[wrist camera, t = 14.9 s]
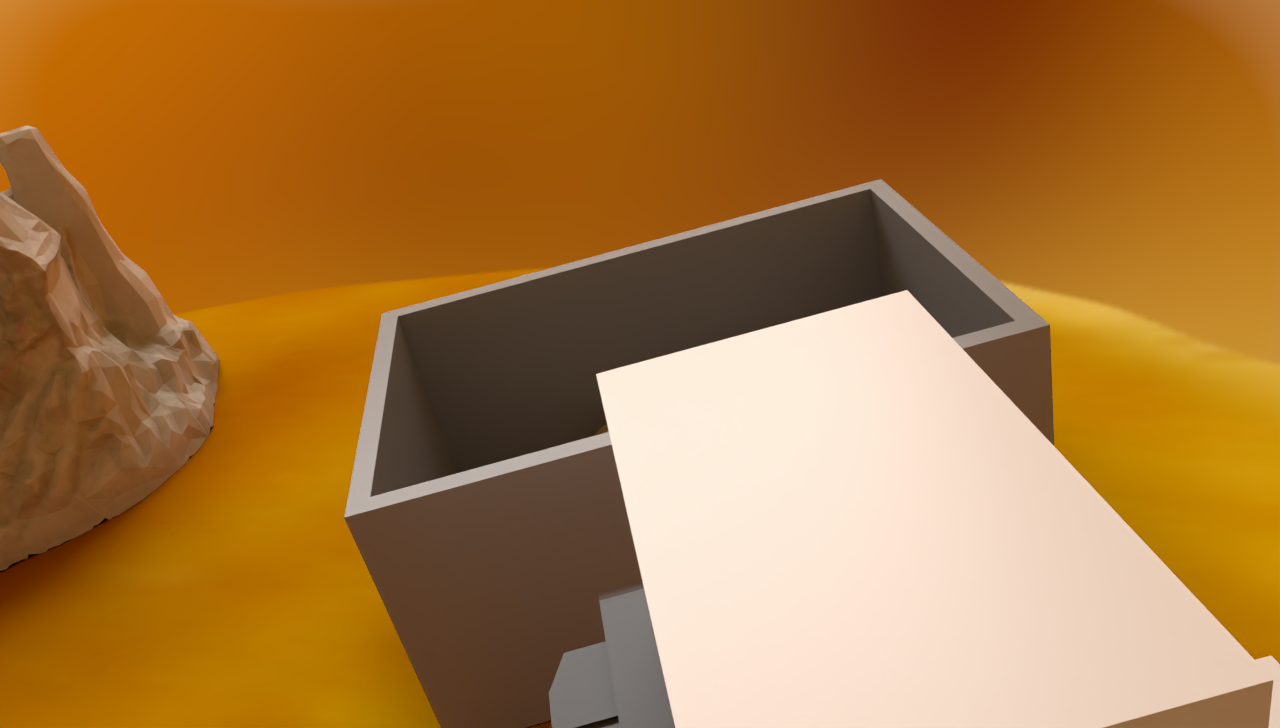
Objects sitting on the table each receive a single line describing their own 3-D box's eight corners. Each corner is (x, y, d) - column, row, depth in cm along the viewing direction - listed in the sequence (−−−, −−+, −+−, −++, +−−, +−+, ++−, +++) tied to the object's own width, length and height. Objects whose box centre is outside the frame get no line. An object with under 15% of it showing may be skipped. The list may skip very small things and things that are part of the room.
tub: (1058, 578, 25) (1049, 324, 21) (450, 748, 24) (344, 517, 21) (904, 381, 33) (881, 179, 30) (456, 503, 33) (382, 313, 30)
